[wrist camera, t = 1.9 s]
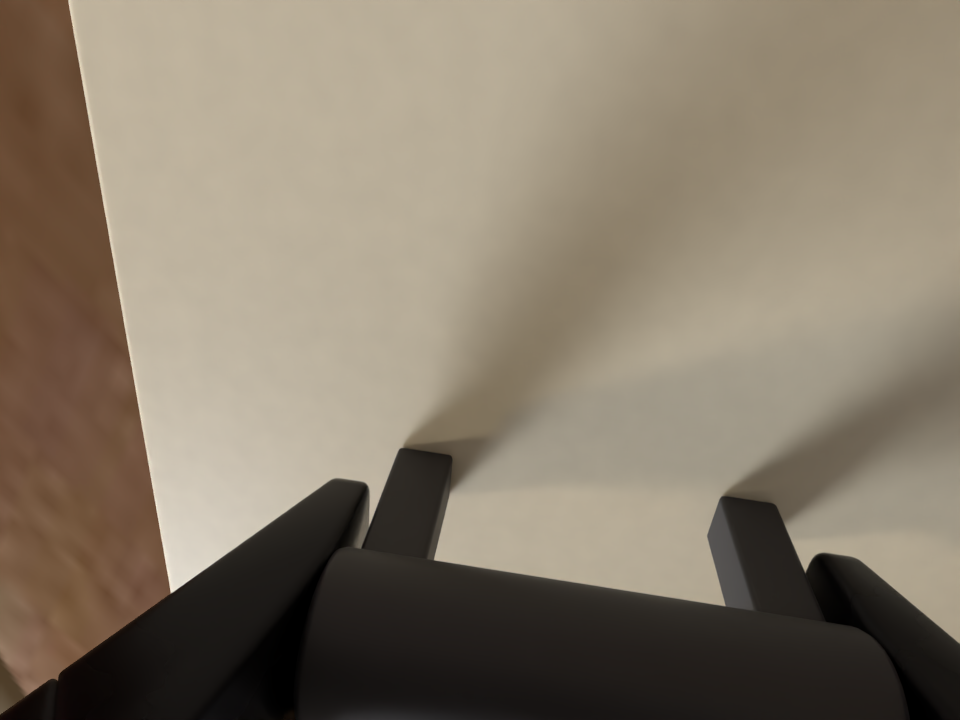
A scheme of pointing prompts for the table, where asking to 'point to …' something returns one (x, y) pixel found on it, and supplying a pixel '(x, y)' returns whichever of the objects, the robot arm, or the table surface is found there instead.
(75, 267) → the table surface
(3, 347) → the table surface
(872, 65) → the cool box lid
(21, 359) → the table surface
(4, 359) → the table surface
